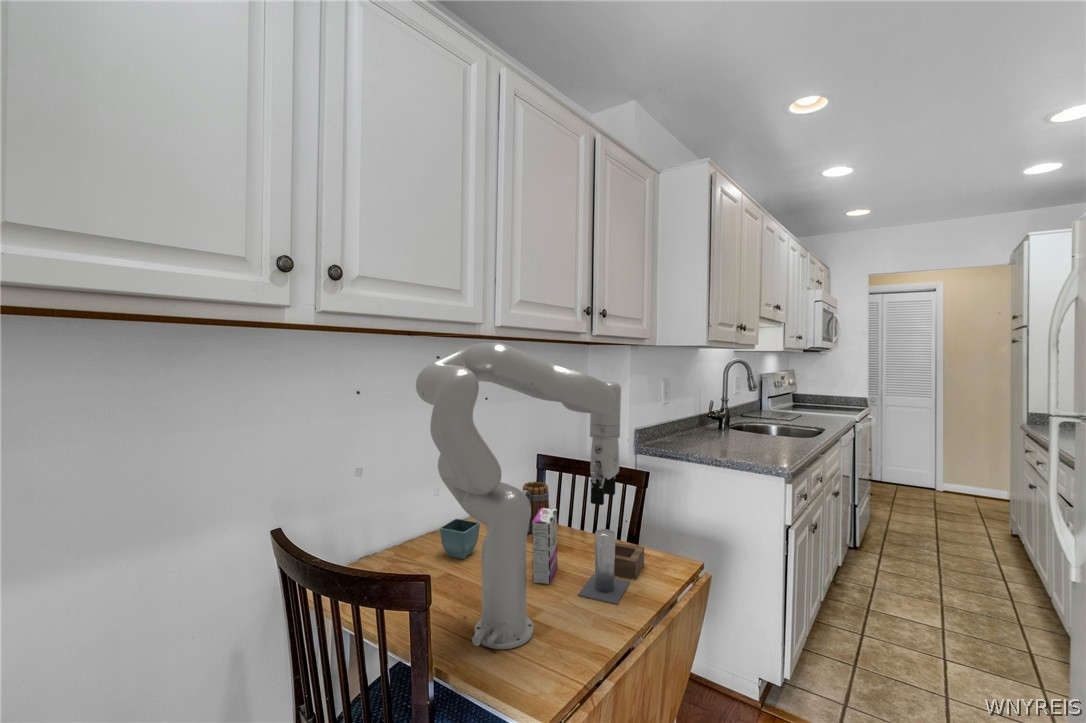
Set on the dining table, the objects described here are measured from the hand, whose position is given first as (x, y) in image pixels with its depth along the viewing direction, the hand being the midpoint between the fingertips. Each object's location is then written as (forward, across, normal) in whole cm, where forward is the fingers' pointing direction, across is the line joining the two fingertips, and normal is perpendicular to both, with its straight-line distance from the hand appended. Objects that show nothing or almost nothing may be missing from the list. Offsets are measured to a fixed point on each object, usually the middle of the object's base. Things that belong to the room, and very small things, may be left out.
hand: (603, 498), depth 121 cm
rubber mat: (+23, +1, -1) cm, 23 cm away
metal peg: (+23, +1, -1) cm, 23 cm away
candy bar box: (+24, +2, +16) cm, 29 cm away
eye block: (+23, +14, -2) cm, 27 cm away
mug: (+23, +29, +33) cm, 50 cm away
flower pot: (+24, +3, +44) cm, 51 cm away
